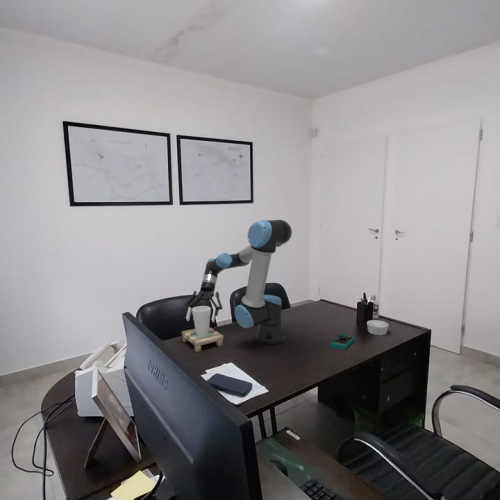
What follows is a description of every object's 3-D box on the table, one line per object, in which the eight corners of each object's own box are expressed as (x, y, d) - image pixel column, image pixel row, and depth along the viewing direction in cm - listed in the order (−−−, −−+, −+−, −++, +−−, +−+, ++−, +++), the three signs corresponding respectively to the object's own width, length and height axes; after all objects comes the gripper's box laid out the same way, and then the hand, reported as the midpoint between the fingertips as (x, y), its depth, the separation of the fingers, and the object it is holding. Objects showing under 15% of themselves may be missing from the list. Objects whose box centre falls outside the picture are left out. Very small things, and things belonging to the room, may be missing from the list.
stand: (223, 345, 171) (223, 335, 170) (196, 352, 163) (195, 342, 162) (207, 334, 186) (207, 325, 185) (182, 340, 178) (181, 331, 177)
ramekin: (386, 337, 178) (387, 328, 177) (364, 334, 183) (365, 324, 182) (389, 331, 187) (390, 321, 186) (368, 327, 193) (369, 318, 192)
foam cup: (196, 337, 168) (195, 312, 166) (190, 331, 176) (189, 307, 174) (214, 334, 172) (213, 309, 170) (207, 328, 180) (206, 305, 178)
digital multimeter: (354, 341, 175) (354, 335, 174) (344, 351, 163) (344, 345, 162) (341, 338, 179) (341, 332, 179) (330, 348, 167) (330, 342, 167)
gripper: (232, 289, 184) (225, 325, 171) (189, 287, 189) (179, 322, 176) (229, 281, 178) (222, 318, 165) (184, 280, 183) (174, 315, 170)
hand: (200, 320), depth 171 cm, fingers open, 13 cm apart
